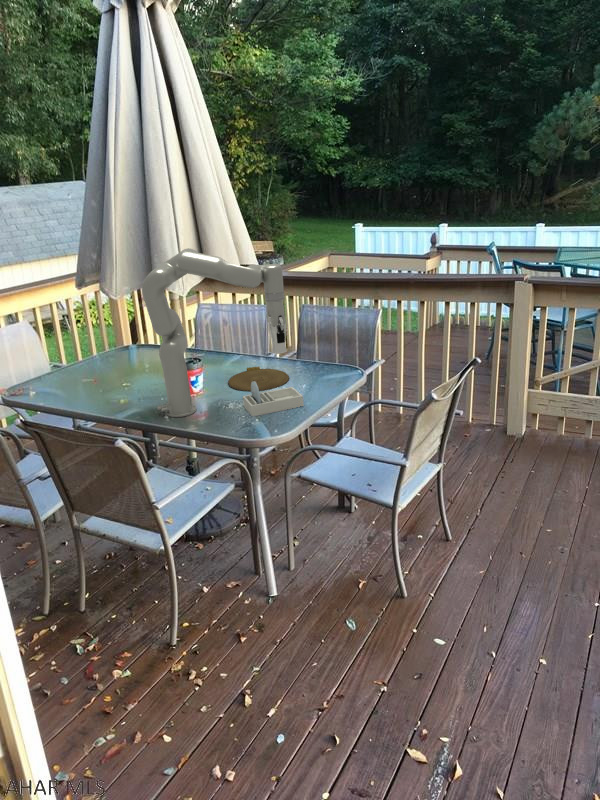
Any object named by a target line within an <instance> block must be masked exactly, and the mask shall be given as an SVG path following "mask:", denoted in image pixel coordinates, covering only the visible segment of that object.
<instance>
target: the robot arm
mask: <svg viewBox="0 0 600 800" xmlns="http://www.w3.org/2000/svg"><path fill="white" fill-rule="evenodd" d="M282 267H283V266H282V265H281V264H279V263H269V264H250V265H247V266H242V265H237V264H234V263H231V262H229V261H226V260H225V259H223V258H222V257H220V256H216V255H210V254H206V253H200V252H197V250H195V249H194V248H183V249H182V250H181V251H179V253H177V254H176V255H174V256H172V257H170V258H168V259H167V260H166V261H164V262H162V263H161V264H160V265H158V266H157V267H155V268H154V269H152V271H150V272H149V273H148V274H147V275H146V277H145V278H144V279H143V282H142V285H141V294H142V298H143V301H144V304H145V307H146V309H147V313H148V316H149V319H150V322H151V325H152V326H151V327H152V329H153V330H154V333H156V335H158V336H160V337H162V342H161V344H160V346H159V352H158V355H159V359H160V364H161V367H162V373H163V378H164V385H165V391H166V397H167V401H166V403H164V405H163V404H162V405H158V406H157V411H158V412H160V411H161V412H165V414H166V416H168V417H170V418H181V417H187V416H190V415H193V414H194V413H195V412H196V411H197V406H196V405H194V404H193V403H192V395H191V389H190V380H189V374H188V368H187V362H186V359H185V358H186V357H185V352H186V350H187V348H188V339H187V337H186V334H185V330H184V327H183V324H182V321H181V318H180V315H179V314H178V313H177V312H176V310H175V309H173V308H170V306H169V302H168V299H167V296H166V295H165V294H166V293H165V290H166V289H168V288H169V287H171V285H172V284H174V283H175V282H176V281H178V280H179V279H181V278H183V277H184V276H186V275H188V274H189V275H192V276H193V275H194V276H196V277H197V276H198V277H204V278H207V279H208V278H209V279H212V280H217V281H219V282H223V283H226V284H230V285H233V286H238V287H243V288H248V289H253V288H257V287H258V286H260V285H261V283H263V288H264V290H263V291H264V299H265V304H266V322H267V323H268V315H269V316H270V317H271V323H272V326H273V327H275V326H276V329H277V343H285V344H286V336H285V331H284V327H285V326H284V325H285V321H286V316H285V307H284V301H285V292H284V291H285V289H284V275H283V268H282ZM278 321H279V323H280V325H278V326H277V324H278ZM283 322H284V323H283ZM278 327H280V328H279V329H278Z"/></svg>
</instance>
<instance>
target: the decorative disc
mask: <svg viewBox="0 0 600 800" xmlns="http://www.w3.org/2000/svg"><path fill="white" fill-rule="evenodd" d="M289 380H290V376H289V374H288V373H286V372H285V371H283V370H280V369H276V368H275V369H274V368H261V367H260V366H252V367H246V370H244V371H241V372H239V373H238V372H237V373H236V374H233V376H231V377H230V378H229V379H228V381H227V383H228V386H229V387H230V388H232V389H234V390H237V391H239V392H240V391H241V392H248V393H249V392H251V383H252V382H253V381H255V382H256V383H257V386H258V388H259V392H266V391H269V390H270V391H271V390H274V389H278V388H281V387H282V386H284V385H286V384H287V383H288V382H289ZM277 387H278V388H277Z"/></svg>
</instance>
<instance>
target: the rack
mask: <svg viewBox="0 0 600 800" xmlns="http://www.w3.org/2000/svg"><path fill="white" fill-rule="evenodd" d="M242 400H243V402H242V403H243V408H244V409H246V411H247V412H248V414H249V415H250V416H251V417H258V416H262V415H268V414H271V413H277V412H282V411H283V412H284V411H288V410H292V408H293V409H297V408H296V407H298V408H301V407H300V406H303V407H304V406H305V405H304V403H305V402H304V395H303V394H301V393H300V392H299V391H298V390H297V389H296V388H294V386H290V387H285V388H280V389H275V390H274V389H273V390H270V391H269V390H265V391H259V388H258V386H257V383H256V382H255V381H253V382H252V383H251V393H250V394H247V395H243V396H242ZM287 409H288V410H287Z"/></svg>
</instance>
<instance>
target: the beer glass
mask: <svg viewBox="0 0 600 800" xmlns="http://www.w3.org/2000/svg"><path fill="white" fill-rule="evenodd" d="M283 323H284V322H283ZM267 324H268V332H269V335H270V336H269V337H270V338H271V345H272V346H271V353H272V354H284V353H286V352H288V350H287V346H286V342H285V343H277V329H276V326H275V327H273V326H272V323H271V317H270V316H269V315H268V322H267ZM278 325H280V323H279V321H278V324H277V326H278ZM284 326H285V327H284V331H285V337H286V336H287V322H286V320H285V325H284ZM279 328H280V327H278V329H279Z"/></svg>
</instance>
